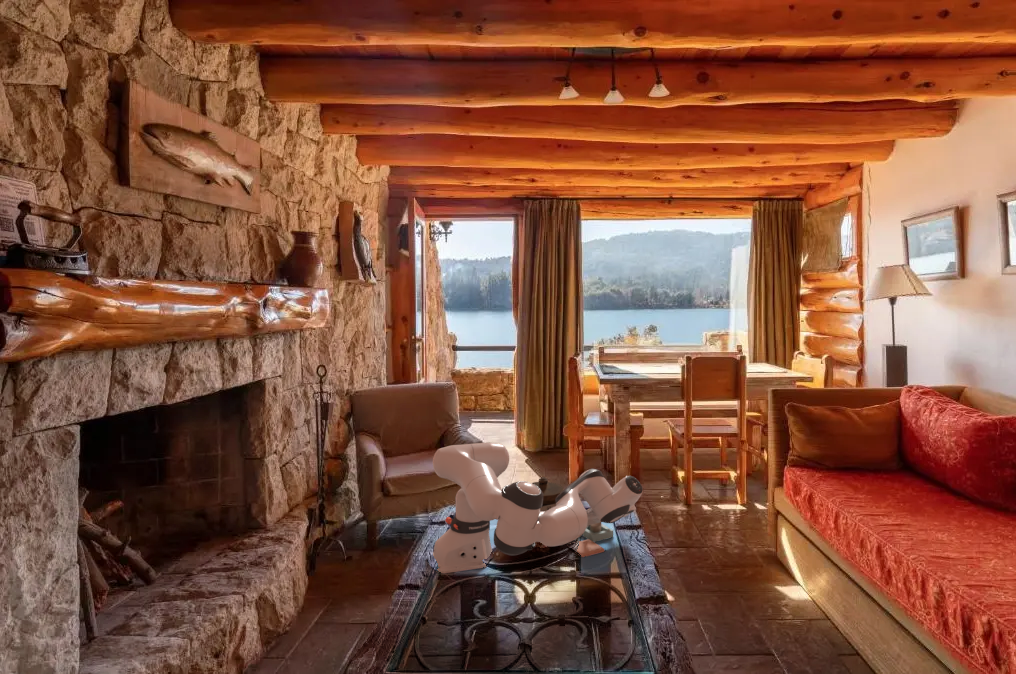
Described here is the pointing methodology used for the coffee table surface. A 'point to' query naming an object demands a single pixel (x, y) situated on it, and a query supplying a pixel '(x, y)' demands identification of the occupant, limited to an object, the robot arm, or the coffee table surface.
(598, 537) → the pocket holder
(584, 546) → the terracotta tile
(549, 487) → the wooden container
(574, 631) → the coffee table surface
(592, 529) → the peg
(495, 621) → the coffee table surface
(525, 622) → the coffee table surface
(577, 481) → the robot arm
